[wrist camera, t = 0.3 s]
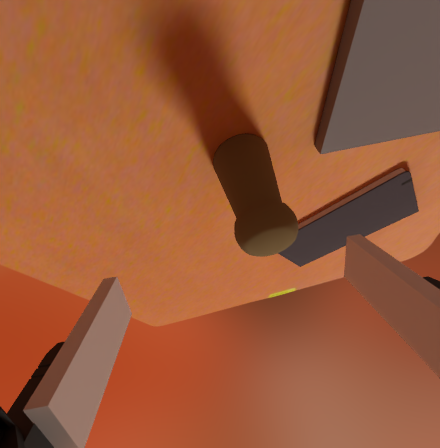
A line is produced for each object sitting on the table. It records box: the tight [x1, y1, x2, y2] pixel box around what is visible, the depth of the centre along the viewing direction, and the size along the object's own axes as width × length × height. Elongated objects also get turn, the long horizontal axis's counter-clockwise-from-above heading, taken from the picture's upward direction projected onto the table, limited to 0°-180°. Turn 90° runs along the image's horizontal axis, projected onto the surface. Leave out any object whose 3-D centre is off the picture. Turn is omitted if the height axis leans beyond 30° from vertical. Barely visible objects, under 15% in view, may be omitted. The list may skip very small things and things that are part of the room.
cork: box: [213, 134, 299, 256], centre depth 22 cm, size 6×6×11 cm
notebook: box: [278, 168, 419, 267], centre depth 39 cm, size 13×2×21 cm
